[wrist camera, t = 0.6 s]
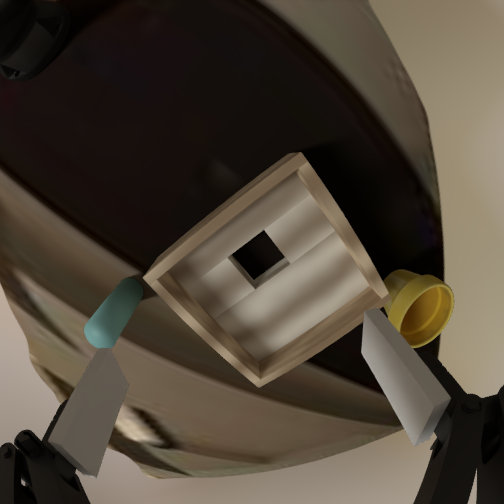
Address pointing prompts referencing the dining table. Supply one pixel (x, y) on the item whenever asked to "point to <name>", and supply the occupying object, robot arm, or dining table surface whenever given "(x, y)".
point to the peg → (113, 314)
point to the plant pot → (418, 305)
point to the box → (271, 274)
